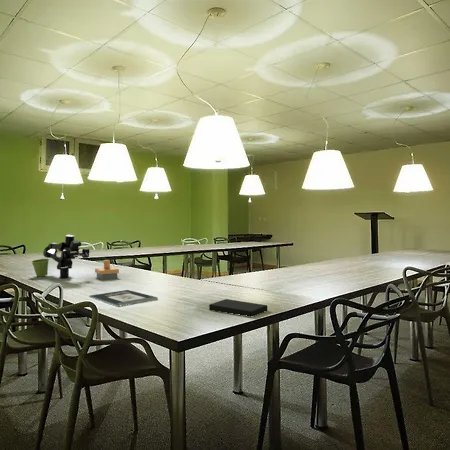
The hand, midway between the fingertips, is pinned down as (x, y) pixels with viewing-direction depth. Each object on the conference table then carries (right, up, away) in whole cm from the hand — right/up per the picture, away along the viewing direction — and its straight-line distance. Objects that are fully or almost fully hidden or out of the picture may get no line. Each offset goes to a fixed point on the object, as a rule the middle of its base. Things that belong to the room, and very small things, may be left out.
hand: (81, 257), depth 257 cm
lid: (+13, -11, +12) cm, 21 cm away
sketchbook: (+41, -18, -50) cm, 67 cm away
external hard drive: (+101, -19, -76) cm, 128 cm away
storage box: (+13, -16, +12) cm, 24 cm away
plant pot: (-37, -15, +24) cm, 47 cm away
